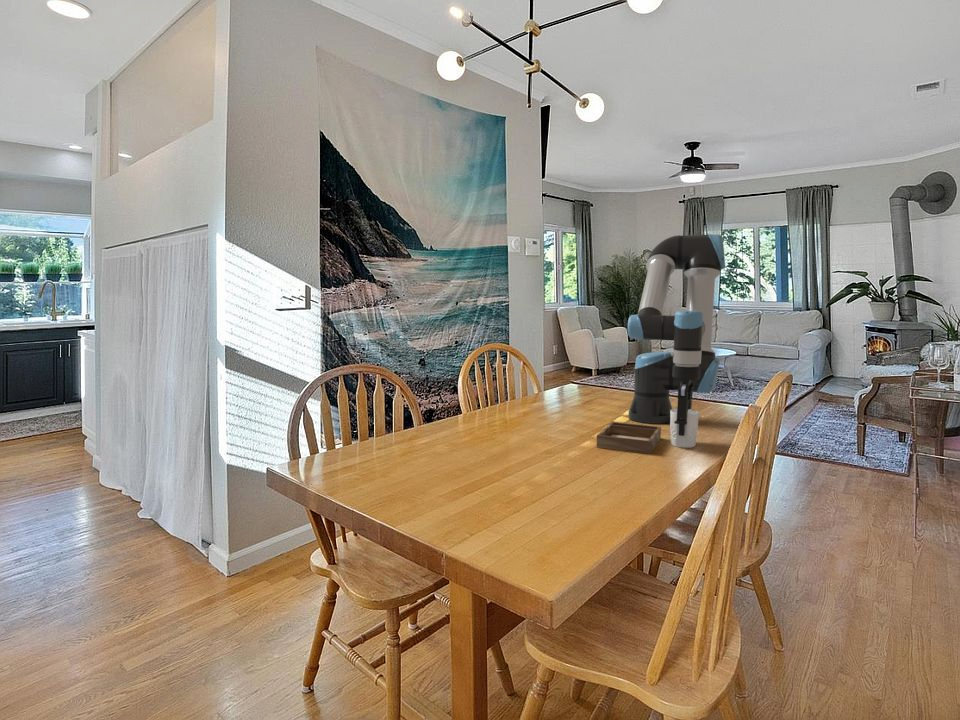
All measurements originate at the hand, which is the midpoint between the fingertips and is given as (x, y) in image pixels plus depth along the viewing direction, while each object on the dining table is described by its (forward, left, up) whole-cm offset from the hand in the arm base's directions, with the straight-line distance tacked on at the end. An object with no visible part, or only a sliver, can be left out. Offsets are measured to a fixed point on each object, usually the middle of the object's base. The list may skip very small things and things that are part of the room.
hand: (683, 442), depth 165 cm
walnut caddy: (+4, -14, -1) cm, 15 cm away
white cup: (0, 0, -1) cm, 1 cm away
